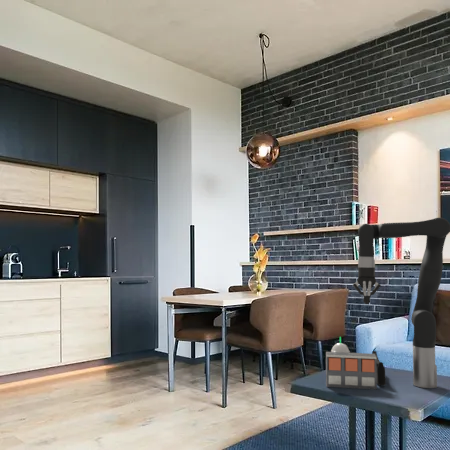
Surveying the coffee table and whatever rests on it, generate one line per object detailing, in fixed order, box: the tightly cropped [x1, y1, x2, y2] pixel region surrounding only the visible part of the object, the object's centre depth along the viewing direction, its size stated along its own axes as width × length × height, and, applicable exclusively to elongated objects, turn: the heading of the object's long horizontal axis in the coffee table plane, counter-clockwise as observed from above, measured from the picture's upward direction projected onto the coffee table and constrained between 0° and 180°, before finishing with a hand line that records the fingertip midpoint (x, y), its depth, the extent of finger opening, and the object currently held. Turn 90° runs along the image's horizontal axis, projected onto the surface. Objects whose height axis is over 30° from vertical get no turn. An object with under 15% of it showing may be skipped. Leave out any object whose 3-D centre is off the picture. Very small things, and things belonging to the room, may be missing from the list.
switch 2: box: [345, 358, 358, 371], centre depth 213 cm, size 5×5×5 cm
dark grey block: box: [325, 351, 378, 391], centre depth 214 cm, size 21×6×14 cm, turn 80°
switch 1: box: [328, 357, 341, 371], centre depth 214 cm, size 5×5×5 cm
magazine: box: [371, 350, 387, 386], centre depth 226 cm, size 17×3×30 cm
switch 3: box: [361, 359, 374, 372], centre depth 211 cm, size 5×5×5 cm
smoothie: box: [330, 336, 351, 353], centre depth 223 cm, size 8×8×20 cm
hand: (366, 303), depth 227 cm, fingers closed
